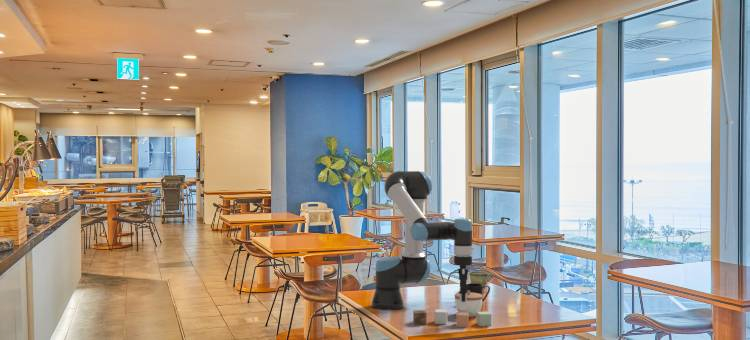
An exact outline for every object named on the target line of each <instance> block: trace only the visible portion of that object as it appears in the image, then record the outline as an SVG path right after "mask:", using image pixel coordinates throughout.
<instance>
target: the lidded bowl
mask: <svg viewBox="0 0 750 340" xmlns="http://www.w3.org/2000/svg"><path fill="white" fill-rule="evenodd" d="M483 298H484V297H483V294H482V295H481V294H479V293H472V292H470V290H468V291H467V310H466V309H460V294H459V292H456V293H455V294H454V304H455V308H456V310H457V312H464V313H468V314H469V318H470V317H472V318H473V317H476V312H481V310H482V307H483V303H482V299H483Z"/></svg>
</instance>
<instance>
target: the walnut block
mask: <svg viewBox="0 0 750 340" xmlns="http://www.w3.org/2000/svg"><path fill="white" fill-rule="evenodd" d="M412 321H413V324H414V325H415V326H417V325H420V326H421V325H427V311H426V310H424V309H423V310H422V309H420V310H419V309H417V310H416V309H415V310H413V320H412Z"/></svg>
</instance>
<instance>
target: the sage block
mask: <svg viewBox="0 0 750 340" xmlns="http://www.w3.org/2000/svg"><path fill="white" fill-rule="evenodd" d="M475 318H476V319H475V322H476V325H478V326H479V327H492V313H491V312H489V311H480V312H476V316H475Z"/></svg>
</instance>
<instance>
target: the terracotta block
mask: <svg viewBox="0 0 750 340" xmlns="http://www.w3.org/2000/svg"><path fill="white" fill-rule="evenodd" d="M469 318H470V317H469V314H468V313H464V312H458V311H457V312H456V318H455V319H456V321H455V325H456V327H458V328H459V327H460V328H469V321H470V319H469Z"/></svg>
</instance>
